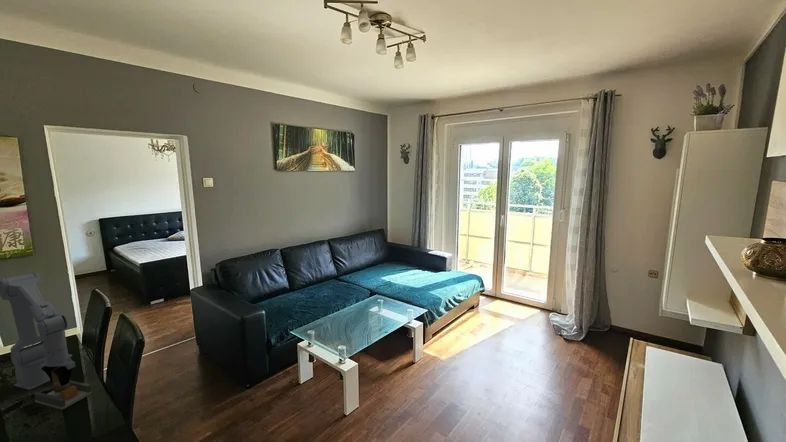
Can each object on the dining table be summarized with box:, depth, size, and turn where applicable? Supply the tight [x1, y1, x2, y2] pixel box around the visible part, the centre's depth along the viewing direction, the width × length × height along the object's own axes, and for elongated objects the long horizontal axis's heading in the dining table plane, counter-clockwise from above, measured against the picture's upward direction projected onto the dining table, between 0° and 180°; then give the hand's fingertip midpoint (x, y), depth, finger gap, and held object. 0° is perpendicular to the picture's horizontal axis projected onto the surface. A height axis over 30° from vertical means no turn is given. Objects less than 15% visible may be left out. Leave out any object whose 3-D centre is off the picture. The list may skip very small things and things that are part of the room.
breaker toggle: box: [61, 386, 77, 400], centre depth 120 cm, size 2×4×3 cm, turn 165°
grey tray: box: [33, 379, 93, 410], centre depth 121 cm, size 14×9×4 cm, turn 75°
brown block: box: [51, 367, 69, 393], centre depth 120 cm, size 4×4×8 cm
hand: (60, 383), depth 120 cm, fingers closed on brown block, 4 cm apart
